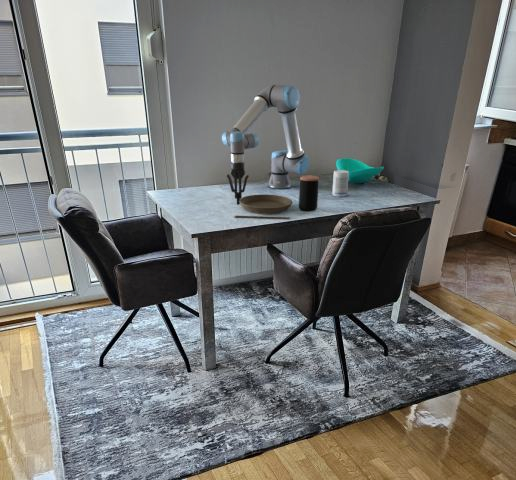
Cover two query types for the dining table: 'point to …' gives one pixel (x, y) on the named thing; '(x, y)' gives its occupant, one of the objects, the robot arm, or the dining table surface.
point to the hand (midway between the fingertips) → (238, 204)
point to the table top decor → (357, 170)
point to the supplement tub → (340, 183)
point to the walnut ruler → (261, 217)
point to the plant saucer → (265, 203)
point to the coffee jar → (308, 193)
